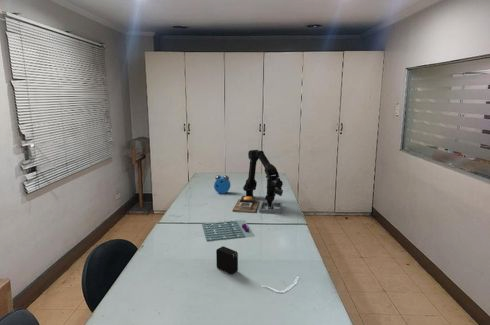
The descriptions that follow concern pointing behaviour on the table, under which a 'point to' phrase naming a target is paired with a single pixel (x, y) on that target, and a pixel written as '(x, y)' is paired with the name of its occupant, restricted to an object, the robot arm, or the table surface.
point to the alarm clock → (222, 184)
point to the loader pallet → (246, 205)
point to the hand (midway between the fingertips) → (270, 205)
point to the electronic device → (227, 260)
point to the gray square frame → (270, 209)
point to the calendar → (227, 230)
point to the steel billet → (271, 205)
